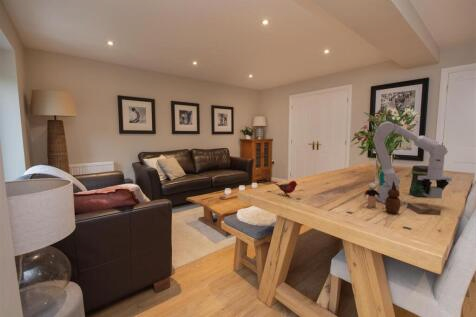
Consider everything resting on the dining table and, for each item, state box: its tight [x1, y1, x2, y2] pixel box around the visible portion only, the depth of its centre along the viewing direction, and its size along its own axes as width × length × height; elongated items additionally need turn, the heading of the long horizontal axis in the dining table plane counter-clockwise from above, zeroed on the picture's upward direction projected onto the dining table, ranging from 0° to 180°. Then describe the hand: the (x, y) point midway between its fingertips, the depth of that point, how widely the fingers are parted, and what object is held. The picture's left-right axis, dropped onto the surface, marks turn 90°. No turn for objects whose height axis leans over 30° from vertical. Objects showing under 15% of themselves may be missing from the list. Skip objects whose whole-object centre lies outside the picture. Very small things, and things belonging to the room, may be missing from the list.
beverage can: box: [378, 169, 385, 186], centre depth 136 cm, size 6×6×15 cm
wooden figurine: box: [384, 181, 401, 214], centre depth 104 cm, size 7×6×15 cm
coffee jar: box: [408, 165, 431, 198], centre depth 132 cm, size 10×8×19 cm
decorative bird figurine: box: [273, 180, 298, 197], centre depth 132 cm, size 3×18×10 cm, turn 42°
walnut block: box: [406, 202, 442, 216], centre depth 106 cm, size 9×9×3 cm
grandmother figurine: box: [363, 182, 380, 209], centre depth 111 cm, size 8×4×13 cm, turn 92°
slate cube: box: [424, 185, 444, 199], centre depth 112 cm, size 5×5×5 cm
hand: (432, 194), depth 112 cm, fingers closed on slate cube, 5 cm apart
